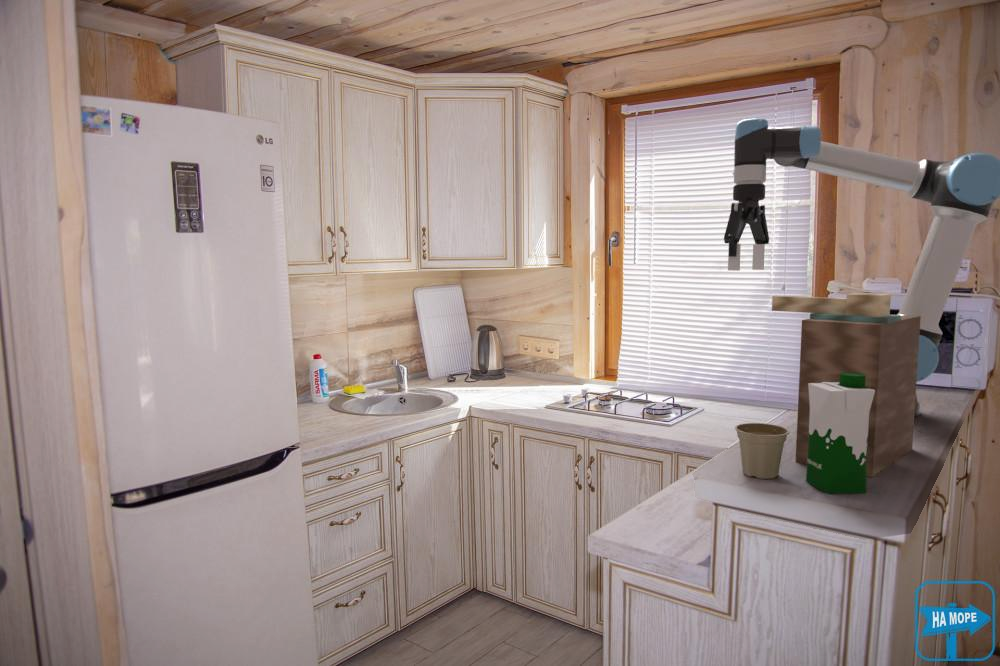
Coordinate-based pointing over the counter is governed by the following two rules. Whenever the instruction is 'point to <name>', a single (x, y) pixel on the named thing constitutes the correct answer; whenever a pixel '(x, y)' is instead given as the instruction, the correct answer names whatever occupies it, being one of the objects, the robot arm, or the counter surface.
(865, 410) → the milk carton
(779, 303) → the oak bar
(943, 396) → the counter surface
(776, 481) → the counter surface
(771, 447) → the flower pot
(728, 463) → the counter surface
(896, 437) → the walnut shelf
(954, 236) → the robot arm
